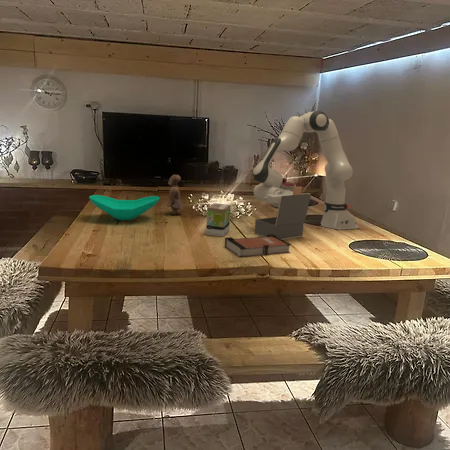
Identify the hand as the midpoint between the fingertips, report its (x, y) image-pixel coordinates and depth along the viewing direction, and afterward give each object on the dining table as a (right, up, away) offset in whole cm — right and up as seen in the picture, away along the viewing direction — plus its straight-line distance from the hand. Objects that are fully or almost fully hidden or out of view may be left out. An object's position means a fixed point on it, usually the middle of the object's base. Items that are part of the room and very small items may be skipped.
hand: (294, 200), depth 223 cm
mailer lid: (0, -3, +1) cm, 3 cm away
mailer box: (-6, -18, +13) cm, 23 cm away
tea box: (-39, -17, +13) cm, 44 cm away
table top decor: (-93, -10, +33) cm, 99 cm away
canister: (+6, 0, +92) cm, 92 cm away
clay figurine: (-67, -6, +52) cm, 85 cm away
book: (-20, -25, -15) cm, 35 cm away
